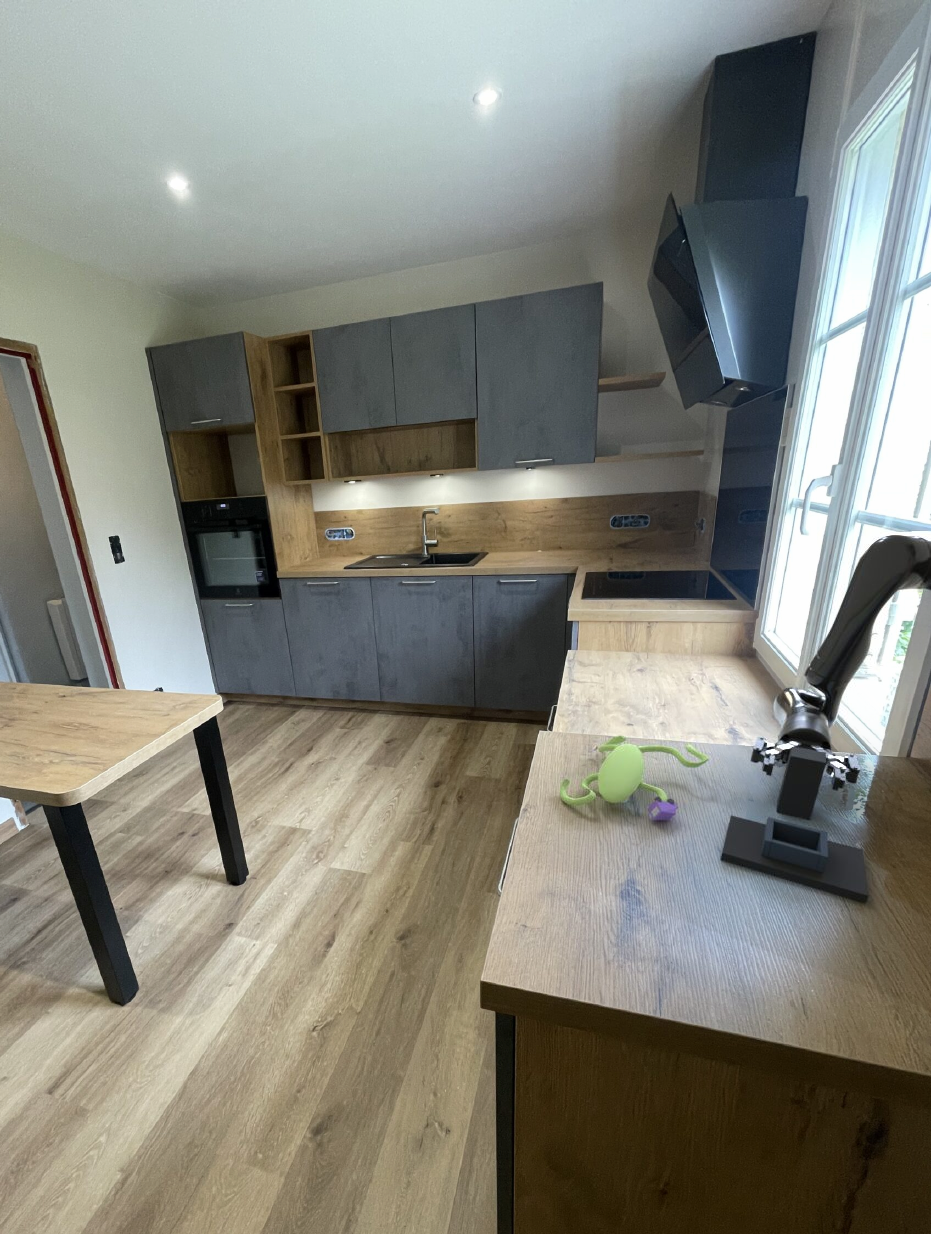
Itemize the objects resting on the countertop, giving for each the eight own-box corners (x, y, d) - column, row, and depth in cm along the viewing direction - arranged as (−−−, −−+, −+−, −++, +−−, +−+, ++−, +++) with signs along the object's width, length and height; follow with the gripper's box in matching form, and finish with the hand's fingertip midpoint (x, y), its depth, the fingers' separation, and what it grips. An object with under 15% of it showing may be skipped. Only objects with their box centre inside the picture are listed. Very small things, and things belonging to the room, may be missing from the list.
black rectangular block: (810, 808, 88) (825, 752, 84) (809, 820, 85) (826, 762, 81) (777, 800, 90) (791, 745, 87) (776, 811, 87) (790, 755, 84)
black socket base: (860, 856, 77) (867, 834, 75) (865, 903, 68) (874, 879, 67) (729, 821, 85) (734, 801, 84) (720, 859, 77) (725, 837, 76)
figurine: (710, 772, 100) (716, 744, 98) (665, 842, 81) (671, 810, 79) (609, 745, 111) (612, 719, 109) (549, 801, 92) (551, 772, 90)
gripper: (761, 711, 100) (753, 745, 88) (860, 728, 92) (867, 767, 80) (753, 748, 103) (744, 786, 91) (848, 767, 95) (853, 811, 83)
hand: (802, 777), depth 85 cm, fingers open, 8 cm apart
